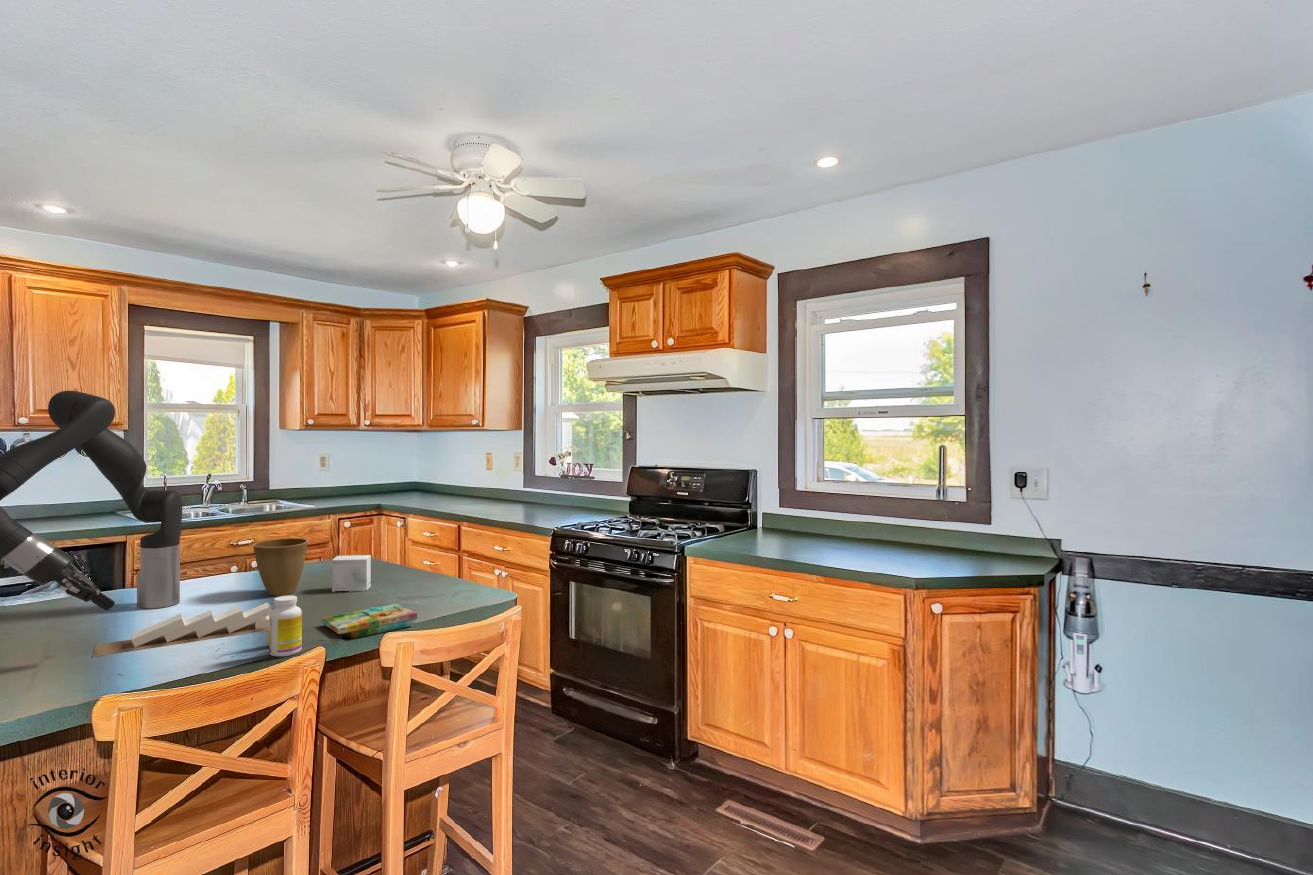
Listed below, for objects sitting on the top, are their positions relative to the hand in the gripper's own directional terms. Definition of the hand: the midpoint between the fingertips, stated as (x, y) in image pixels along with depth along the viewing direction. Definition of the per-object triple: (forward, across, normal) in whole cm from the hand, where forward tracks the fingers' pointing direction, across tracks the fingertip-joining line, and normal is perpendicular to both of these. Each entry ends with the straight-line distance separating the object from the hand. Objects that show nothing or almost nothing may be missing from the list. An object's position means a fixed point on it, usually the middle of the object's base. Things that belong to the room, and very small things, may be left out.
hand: (111, 606), depth 152 cm
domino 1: (+9, 0, +3) cm, 9 cm away
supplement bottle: (+31, -21, -15) cm, 40 cm away
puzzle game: (+45, -13, -29) cm, 55 cm away
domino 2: (+13, 0, -1) cm, 13 cm away
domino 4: (+22, 0, -10) cm, 24 cm away
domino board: (+18, 0, -3) cm, 19 cm away
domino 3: (+17, 0, -5) cm, 18 cm away
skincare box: (+49, +33, -34) cm, 68 cm away
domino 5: (+26, 0, -14) cm, 29 cm away
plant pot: (+36, +40, -20) cm, 57 cm away
